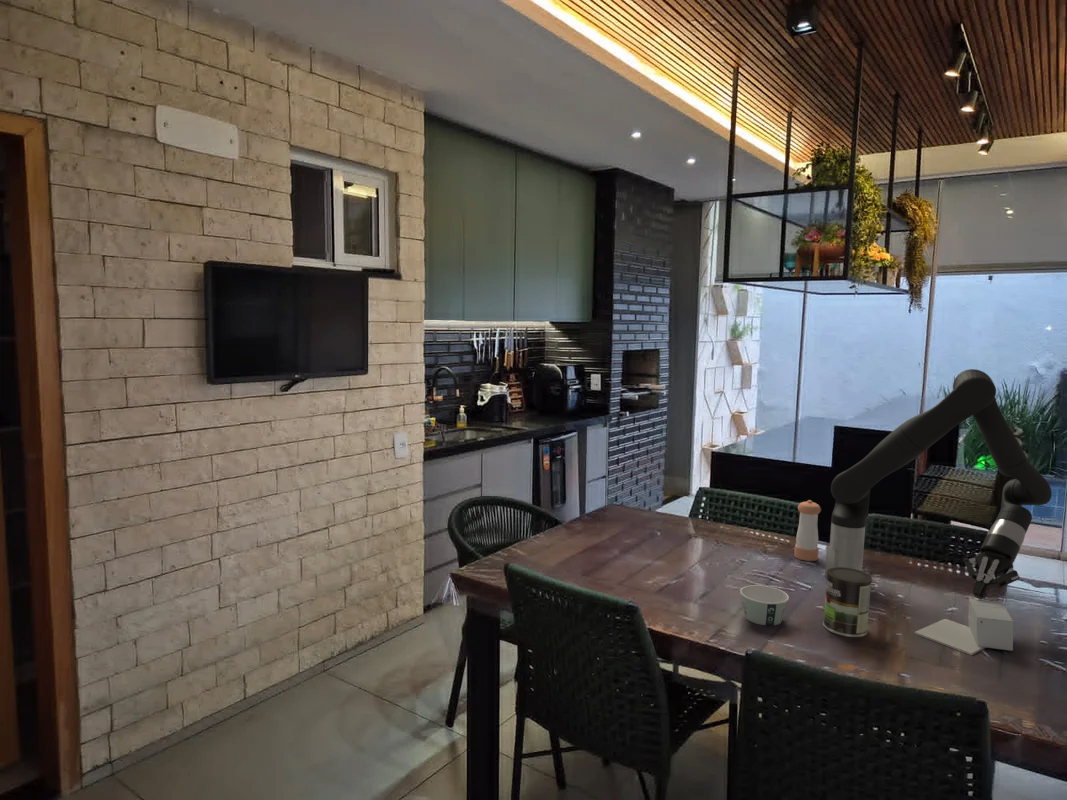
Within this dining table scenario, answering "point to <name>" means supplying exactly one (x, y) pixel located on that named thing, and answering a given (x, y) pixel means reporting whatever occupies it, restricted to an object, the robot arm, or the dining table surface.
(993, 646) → the supplement box
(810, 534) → the pepper shaker
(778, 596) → the food container
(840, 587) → the coffee can
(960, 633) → the mat
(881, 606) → the dining table surface
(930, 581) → the dining table surface
